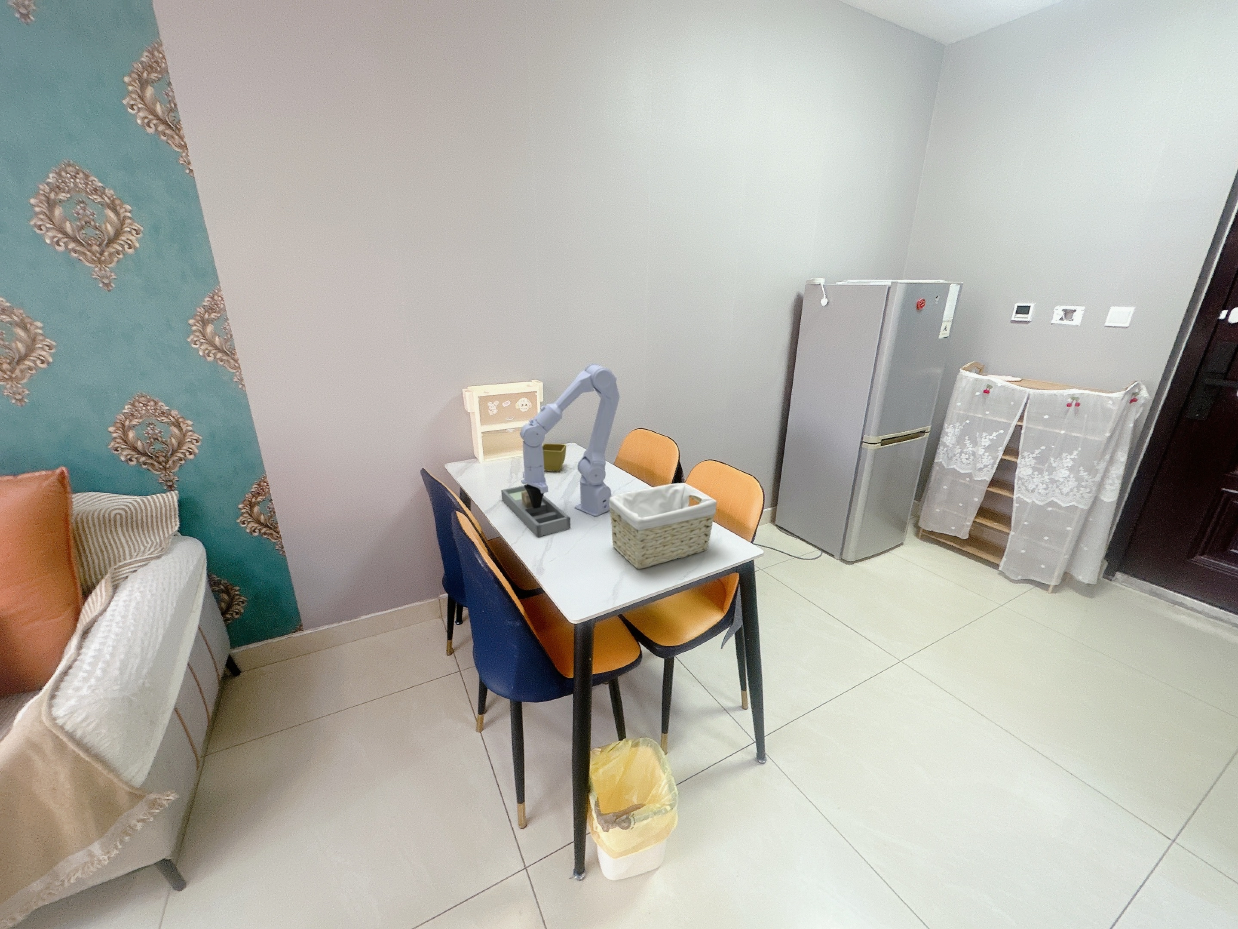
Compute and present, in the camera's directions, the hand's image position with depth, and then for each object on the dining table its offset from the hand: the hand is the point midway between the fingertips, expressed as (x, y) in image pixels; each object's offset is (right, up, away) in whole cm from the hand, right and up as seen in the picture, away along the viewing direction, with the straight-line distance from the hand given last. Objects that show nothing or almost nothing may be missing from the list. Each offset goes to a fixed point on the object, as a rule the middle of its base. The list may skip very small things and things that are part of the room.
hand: (536, 507), depth 145 cm
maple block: (-3, +1, +4) cm, 5 cm away
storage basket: (+36, -10, -17) cm, 41 cm away
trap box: (-1, -2, +3) cm, 4 cm away
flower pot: (0, +11, +40) cm, 41 cm away
